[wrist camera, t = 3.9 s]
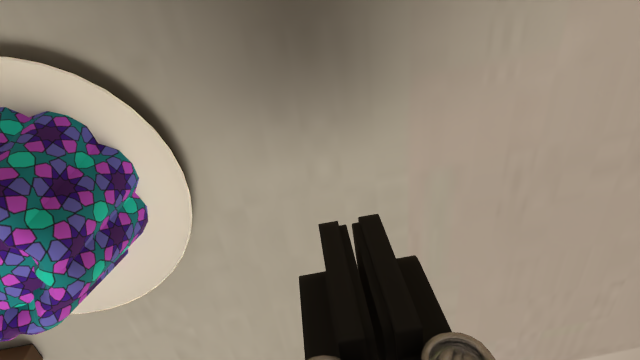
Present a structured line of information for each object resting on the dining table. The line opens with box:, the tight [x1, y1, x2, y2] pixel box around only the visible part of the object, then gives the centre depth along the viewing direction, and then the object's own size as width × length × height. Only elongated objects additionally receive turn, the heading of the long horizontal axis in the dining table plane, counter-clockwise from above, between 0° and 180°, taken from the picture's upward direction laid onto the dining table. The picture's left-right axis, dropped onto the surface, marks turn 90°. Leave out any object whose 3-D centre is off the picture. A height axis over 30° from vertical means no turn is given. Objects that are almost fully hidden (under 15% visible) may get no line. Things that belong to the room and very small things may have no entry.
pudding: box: [0, 57, 193, 342], centre depth 15 cm, size 12×12×5 cm
